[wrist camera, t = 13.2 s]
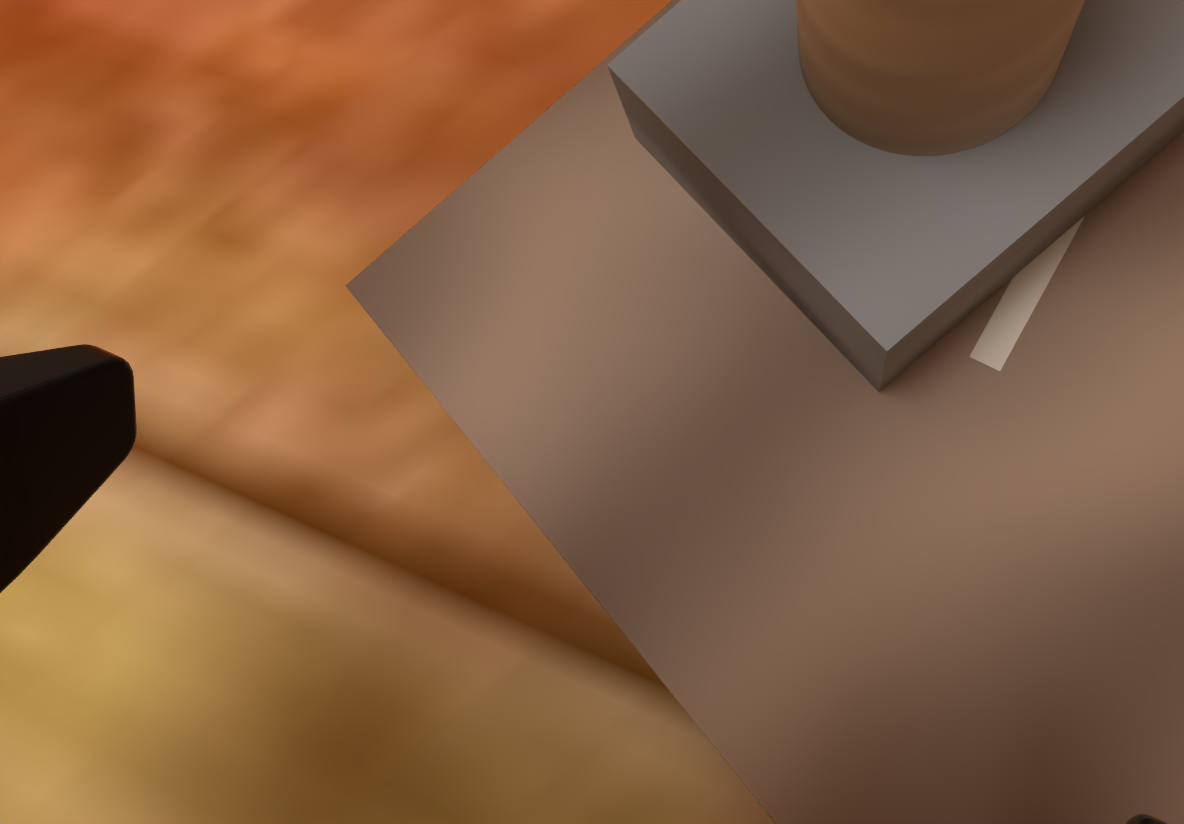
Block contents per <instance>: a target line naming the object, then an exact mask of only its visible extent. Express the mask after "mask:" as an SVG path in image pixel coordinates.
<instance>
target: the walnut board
mask: <svg viewBox="0 0 1184 824" xmlns="http://www.w3.org/2000/svg"><path fill="white" fill-rule="evenodd" d="M680 1H681V0H672V1H671V2H670V3H669V4H668V5H666V6H665V7H664V8H663V9H662V10H661V11H659V12H658V13H657V14H656V15H655V16H654V17H653V18H651V19H650V20H649V21H648V22H647V23H646V24H645V25H643V26H642V27H641V28H640V29H639V30H638V31H637V32H635V33H634V34H633V35H632V36H631V37H630V38H629V39H627V40H626V41H625V42H624V43H623V44H622V45H621V46H619V47H618V48H617V49H616V50H615V51H614V52H613V53H611V54H610V55H609V56H608V57H607V58H606V59H605V60H603V61H602V62H601V63H600V64H599V65H598V66H597V67H595V68H594V69H593V70H592V71H591V72H590V73H589V74H587V75H586V76H585V77H584V78H583V79H582V80H581V81H579V82H578V83H577V84H576V85H575V86H574V87H572V88H571V89H570V90H569V91H568V92H567V93H566V94H564V95H563V96H562V97H561V98H560V99H559V100H558V101H556V102H555V103H554V104H553V105H552V106H551V107H550V108H548V109H547V110H546V111H545V112H544V113H543V114H542V115H540V116H539V117H538V118H537V119H536V120H535V121H534V122H532V123H531V124H530V125H529V126H528V127H527V128H526V129H524V130H523V131H522V132H521V133H520V134H519V135H518V136H516V137H515V138H514V139H513V140H512V141H511V142H510V143H508V144H507V145H506V146H505V147H504V148H503V149H502V150H500V151H499V152H498V153H497V154H496V155H495V156H494V157H492V158H491V159H490V160H489V161H488V162H487V163H485V164H484V165H483V166H482V167H481V168H480V169H479V170H477V171H476V172H475V173H474V174H473V175H472V176H471V177H469V178H468V179H467V180H466V181H465V182H464V183H463V184H461V185H460V186H459V187H458V188H457V189H456V190H455V191H453V192H452V193H451V194H450V195H449V196H448V197H447V198H445V199H444V200H443V201H442V202H441V203H440V204H439V205H437V206H436V207H435V208H434V209H433V210H432V211H431V212H429V213H428V214H427V215H426V216H425V217H424V218H423V219H421V220H420V221H419V222H418V223H417V224H416V225H415V226H413V227H412V228H411V229H410V230H409V231H408V232H407V233H405V234H404V235H403V236H402V237H401V238H400V239H398V240H397V241H396V242H395V243H394V244H393V245H392V246H390V247H389V248H388V249H387V250H386V251H385V252H384V253H382V254H381V255H380V256H379V257H378V258H377V259H376V260H374V261H373V262H372V263H371V264H370V265H369V266H368V267H366V268H365V269H364V270H363V271H362V272H361V273H360V274H358V275H357V276H356V277H355V278H354V279H353V280H352V281H350V282H349V283H348V284H347V285H346V287H347V288H348V289H349V291H350V292H351V293H352V294H353V296H354V297H355V298H356V299H357V301H358V302H359V303H360V304H361V306H362V307H363V308H364V309H365V311H366V312H367V313H368V314H369V316H370V317H371V318H372V319H373V321H374V322H375V323H376V324H377V326H378V327H379V328H380V329H381V331H382V332H383V333H384V334H385V336H386V337H387V338H388V339H389V341H390V342H391V343H392V344H393V346H394V347H395V348H396V349H397V351H398V352H399V353H400V354H401V356H402V357H403V358H404V359H405V361H406V362H407V363H408V364H409V366H410V367H411V368H412V369H413V371H414V372H415V373H416V374H417V376H418V377H419V378H420V379H421V381H422V382H423V383H424V384H425V386H426V387H427V388H428V389H429V391H430V392H431V393H432V394H433V396H434V397H435V398H436V399H437V401H438V402H439V403H440V404H441V406H442V407H443V408H444V409H445V411H446V412H447V413H448V414H449V416H450V417H451V418H452V419H453V421H454V422H455V423H456V424H457V426H458V427H459V428H460V429H461V431H462V432H463V433H464V434H465V436H466V437H467V438H468V439H469V441H470V442H471V443H472V444H473V446H474V447H475V448H476V449H477V451H478V452H479V453H480V454H481V456H482V457H483V458H484V459H485V461H486V462H487V463H488V464H489V466H490V467H491V468H492V469H493V471H494V472H495V473H496V474H497V476H498V477H499V478H500V479H501V481H502V482H503V483H504V484H505V486H506V487H507V488H508V489H509V491H510V492H511V493H512V494H513V496H514V497H515V498H516V499H517V501H518V502H519V503H520V504H521V506H522V507H523V508H524V509H525V511H526V512H527V513H528V514H529V516H530V517H531V518H532V519H533V521H534V522H535V523H536V524H537V526H538V527H539V528H540V529H541V531H542V532H543V533H544V534H545V536H546V537H547V538H548V539H549V541H550V542H551V543H552V545H553V546H554V547H555V548H556V550H557V551H558V552H559V553H560V555H561V556H562V557H563V558H564V560H565V561H566V562H567V563H568V565H569V566H570V567H571V568H572V570H573V571H574V572H575V573H576V575H577V576H578V577H579V578H580V580H581V581H582V582H583V583H584V585H585V586H586V587H587V588H588V590H589V591H590V592H591V593H592V595H593V596H594V597H595V598H596V600H597V601H598V602H599V603H600V605H601V606H602V607H603V608H604V610H605V611H606V612H607V613H608V615H609V616H610V617H611V618H612V620H613V621H614V622H615V623H616V625H617V626H618V627H619V628H620V630H621V631H622V632H623V633H624V635H625V636H626V637H627V638H628V640H629V641H630V642H631V643H632V645H633V646H634V647H635V648H636V650H637V651H638V652H639V653H640V655H641V656H642V657H643V658H644V660H645V661H646V662H647V663H648V665H649V666H650V667H651V668H652V670H653V671H654V672H655V673H656V675H657V676H658V677H659V678H660V680H661V681H662V682H663V683H664V685H665V686H666V687H667V688H668V690H669V691H670V692H671V693H672V695H673V696H674V697H675V698H676V700H677V701H678V702H679V703H680V705H681V706H682V707H683V708H684V710H685V711H686V712H687V713H688V715H689V716H690V717H691V718H692V720H693V721H694V722H695V723H696V725H697V726H698V727H699V728H700V730H701V731H702V732H703V733H704V735H705V736H706V737H707V738H708V740H709V741H710V742H711V743H712V745H713V746H714V747H715V748H716V750H717V751H718V752H719V753H720V755H721V756H722V757H723V758H724V760H725V761H726V762H727V763H728V765H729V766H730V767H731V768H732V770H733V771H734V772H735V773H736V775H737V776H738V777H739V778H740V780H741V781H742V782H743V783H744V785H745V786H746V787H747V788H748V790H749V791H750V792H751V793H752V795H753V796H754V797H755V798H756V800H757V801H758V802H759V803H760V805H761V806H762V807H763V808H764V810H765V811H766V812H767V813H768V815H769V816H770V817H771V818H772V820H773V821H774V822H775V823H776V824H1126V822H1127V821H1128V820H1129V819H1131V818H1132V817H1134V816H1135V815H1138V814H1146V815H1150V816H1152V817H1155V818H1157V819H1159V820H1161V821H1163V822H1166V823H1168V824H1184V131H1183V132H1182V133H1181V134H1180V135H1178V136H1177V137H1176V138H1175V139H1174V140H1173V141H1171V142H1170V143H1169V144H1168V145H1167V146H1166V147H1164V148H1163V149H1162V150H1161V151H1160V152H1159V153H1157V154H1156V155H1155V156H1154V157H1153V158H1152V159H1150V160H1149V161H1148V162H1147V163H1146V164H1145V165H1143V166H1142V167H1141V168H1140V169H1139V170H1138V171H1136V172H1135V173H1134V174H1133V175H1132V176H1131V177H1129V178H1128V179H1127V180H1126V181H1125V182H1124V183H1122V184H1121V185H1120V186H1119V187H1118V188H1117V189H1115V190H1114V191H1113V192H1112V193H1111V194H1110V195H1108V196H1107V197H1106V198H1105V199H1104V200H1103V201H1101V202H1100V203H1099V204H1098V205H1097V206H1096V207H1094V208H1093V209H1092V210H1091V211H1090V212H1089V213H1087V214H1086V215H1085V216H1084V217H1083V218H1082V219H1080V220H1079V221H1078V222H1077V223H1076V224H1075V225H1073V226H1072V227H1071V228H1070V229H1069V230H1068V231H1066V232H1065V233H1064V234H1063V235H1062V236H1061V237H1059V238H1058V239H1057V240H1056V241H1055V242H1054V243H1052V244H1051V245H1050V246H1049V247H1048V248H1047V249H1045V250H1044V251H1043V252H1042V253H1041V254H1040V255H1038V256H1037V257H1036V258H1035V259H1034V260H1033V261H1031V262H1030V263H1029V264H1028V265H1027V266H1026V267H1024V268H1023V269H1022V270H1021V271H1020V272H1019V273H1017V274H1016V275H1015V276H1014V277H1013V278H1012V279H1010V280H1009V281H1008V282H1007V283H1006V284H1005V285H1003V286H1002V287H1001V288H1000V289H999V290H998V291H996V292H995V293H994V294H993V295H992V296H991V297H989V298H988V299H987V300H986V301H985V302H984V303H982V304H981V305H980V306H979V307H978V308H977V309H975V310H974V311H973V312H972V313H971V314H970V315H968V316H967V317H966V318H965V319H964V320H963V321H961V322H960V323H959V324H958V325H957V326H956V327H954V328H953V329H952V330H951V331H950V332H949V333H947V334H946V335H945V336H944V337H943V338H942V339H940V340H939V341H938V342H937V343H936V344H935V345H933V346H932V347H931V348H930V349H929V350H928V351H926V352H925V353H924V354H923V355H922V356H921V357H919V358H918V359H917V360H916V361H915V362H914V363H912V364H911V365H910V366H909V367H908V368H907V369H905V370H904V371H903V372H902V373H901V374H900V375H898V376H897V377H896V378H895V379H894V380H893V381H891V382H890V383H889V384H888V385H887V386H886V387H884V388H883V389H882V390H881V391H880V392H878V391H877V390H876V389H875V388H874V387H873V386H872V385H871V383H870V382H869V381H868V380H867V379H866V378H865V377H864V376H863V375H862V374H861V373H860V372H859V371H858V370H857V369H856V368H855V367H854V366H853V365H852V364H851V363H850V362H849V361H848V359H847V358H846V357H845V356H844V355H843V354H842V353H841V352H840V351H839V350H838V349H837V348H836V347H835V346H834V345H833V344H832V343H831V342H830V341H829V340H828V339H827V338H826V337H825V336H824V334H823V333H822V332H821V331H820V330H819V329H818V328H817V327H816V326H815V325H814V324H813V323H812V322H811V321H810V320H809V319H808V318H807V317H806V316H805V315H804V314H803V313H802V312H801V311H800V309H799V308H798V307H797V306H796V305H795V304H794V303H793V302H792V301H791V300H790V299H789V298H788V297H787V296H786V295H785V294H784V293H783V292H782V291H781V290H780V289H779V288H778V287H777V285H776V284H775V283H774V282H773V281H772V280H771V279H770V278H769V277H768V276H767V275H766V274H765V273H764V272H763V271H762V270H761V269H760V268H759V267H758V266H757V265H756V264H755V263H754V262H753V260H752V259H751V258H750V257H749V256H748V255H747V254H746V253H745V252H744V251H743V250H742V249H741V248H740V247H739V246H738V245H737V244H736V243H735V242H734V241H733V240H732V239H731V238H730V236H729V235H728V234H727V233H726V232H725V231H724V230H723V229H722V228H721V227H720V226H719V225H718V224H717V223H716V222H715V221H714V220H713V219H712V218H711V217H710V216H709V215H708V214H707V213H706V211H705V210H704V209H703V208H702V207H701V206H700V205H699V204H698V203H697V202H696V201H695V200H694V199H693V198H692V197H691V196H690V195H689V194H688V193H687V192H686V191H685V190H684V189H683V187H682V186H681V185H680V184H679V183H678V182H677V181H676V180H675V179H674V178H673V177H672V176H671V175H670V174H669V173H668V172H667V171H666V170H665V169H664V168H663V167H662V166H661V165H660V164H659V162H658V161H657V160H656V159H655V158H654V157H653V156H652V155H651V154H650V153H649V152H648V151H647V150H646V149H645V148H644V147H643V146H642V145H641V144H640V143H639V142H638V141H637V140H636V139H635V136H634V134H633V131H632V129H631V126H630V123H629V121H628V118H627V116H626V113H625V110H624V108H623V105H622V103H621V100H620V97H619V95H618V92H617V89H616V87H615V84H614V82H613V79H612V76H611V74H610V71H609V69H608V66H607V64H609V63H610V62H611V61H612V60H613V59H614V58H615V57H617V56H618V55H619V54H620V53H621V52H622V51H624V50H625V49H626V48H627V47H628V46H629V45H630V44H632V43H633V42H634V41H635V40H636V39H637V38H638V37H640V36H641V35H642V34H643V33H644V32H645V31H646V30H648V29H649V28H650V27H651V26H652V25H653V24H654V23H656V22H657V21H658V20H659V19H660V18H661V17H662V16H664V15H665V14H666V13H667V12H668V11H669V10H670V9H672V8H673V7H674V6H675V5H676V4H677V3H678V2H680Z"/></svg>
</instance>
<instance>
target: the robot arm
mask: <svg viewBox="0 0 1184 824" xmlns="http://www.w3.org/2000/svg"><path fill="white" fill-rule="evenodd" d="M136 430H137V428H136V411H135V393H134V376H133V371H132V369H131V367H130V365H129V363H128V362H127V361H125V360H124V359H123V358H121V357H119V356H117V355H114V354H112V353H110V352H108V351H105V350H103V349H101V348H99V347H96V346H92V345H86V344H84V345H76V346H69V347H63V348H56V349H50V350H44V351H37V352H31V353H24V354H18V355H11V356H5V357H0V593H1V592H2V591H3V590H4V589H5V588H6V587H7V586H8V585H9V584H10V583H11V582H12V581H13V580H15V579H16V578H17V577H18V576H19V575H20V574H21V573H22V571H23V570H24V569H25V568H26V567H27V566H28V565H29V564H30V563H31V562H32V561H33V560H34V559H35V558H36V557H37V556H38V555H39V554H40V553H41V551H42V550H43V549H44V548H45V547H46V546H47V545H48V544H49V543H50V541H51V540H52V539H53V538H54V537H55V536H56V535H57V534H58V533H59V532H60V530H61V529H62V528H63V527H64V526H65V525H66V524H67V523H68V522H69V521H70V519H71V518H72V517H73V516H74V515H75V514H76V513H77V512H78V511H79V509H80V508H81V507H82V506H83V505H84V504H85V503H86V502H87V501H88V500H89V498H90V497H91V496H92V495H93V494H94V493H95V492H96V491H97V490H98V488H99V487H100V486H101V485H102V484H103V483H104V482H105V481H106V480H107V479H108V477H109V476H110V475H111V474H112V473H113V472H114V471H115V470H116V469H117V467H118V466H119V465H120V464H121V463H122V462H123V461H124V460H125V458H126V457H127V456H128V454H129V452H130V451H131V449H132V447H133V444H134V442H135V438H136ZM1126 824H1168V823H1166V822H1163V821H1161V820H1159V819H1157V818H1155V817H1152V816H1150V815H1146V814H1138V815H1135V816H1134V817H1132V818H1131V819H1129V820H1128V821H1127V822H1126Z"/></svg>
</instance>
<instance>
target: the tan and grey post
mask: <svg viewBox="0 0 1184 824" xmlns="http://www.w3.org/2000/svg"><path fill="white" fill-rule="evenodd" d="M607 66H608V69H609V71H610V74H611V76H612V79H613V82H614V84H615V87H616V89H617V92H618V95H619V97H620V100H621V103H622V105H623V108H624V110H625V113H626V116H627V118H628V121H629V123H630V126H631V129H632V131H633V134H634V136H635V139H636V140H637V141H638V142H639V143H640V144H641V145H642V146H643V147H644V148H645V149H646V150H647V151H648V152H649V153H650V154H651V155H652V156H653V157H654V158H655V159H656V160H657V161H658V162H659V164H660V165H661V166H662V167H663V168H664V169H665V170H666V171H667V172H668V173H669V174H670V175H671V176H672V177H673V178H674V179H675V180H676V181H677V182H678V183H679V184H680V185H681V186H682V187H683V189H684V190H685V191H686V192H687V193H688V194H689V195H690V196H691V197H692V198H693V199H694V200H695V201H696V202H697V203H698V204H699V205H700V206H701V207H702V208H703V209H704V210H705V211H706V213H707V214H708V215H709V216H710V217H711V218H712V219H713V220H714V221H715V222H716V223H717V224H718V225H719V226H720V227H721V228H722V229H723V230H724V231H725V232H726V233H727V234H728V235H729V236H730V238H731V239H732V240H733V241H734V242H735V243H736V244H737V245H738V246H739V247H740V248H741V249H742V250H743V251H744V252H745V253H746V254H747V255H748V256H749V257H750V258H751V259H752V260H753V262H754V263H755V264H756V265H757V266H758V267H759V268H760V269H761V270H762V271H763V272H764V273H765V274H766V275H767V276H768V277H769V278H770V279H771V280H772V281H773V282H774V283H775V284H776V285H777V287H778V288H779V289H780V290H781V291H782V292H783V293H784V294H785V295H786V296H787V297H788V298H789V299H790V300H791V301H792V302H793V303H794V304H795V305H796V306H797V307H798V308H799V309H800V311H801V312H802V313H803V314H804V315H805V316H806V317H807V318H808V319H809V320H810V321H811V322H812V323H813V324H814V325H815V326H816V327H817V328H818V329H819V330H820V331H821V332H822V333H823V334H824V336H825V337H826V338H827V339H828V340H829V341H830V342H831V343H832V344H833V345H834V346H835V347H836V348H837V349H838V350H839V351H840V352H841V353H842V354H843V355H844V356H845V357H846V358H847V359H848V361H849V362H850V363H851V364H852V365H853V366H854V367H855V368H856V369H857V370H858V371H859V372H860V373H861V374H862V375H863V376H864V377H865V378H866V379H867V380H868V381H869V382H870V383H871V385H872V386H873V387H874V388H875V389H876V390H877V391H878V392H880V391H881V390H882V389H883V388H884V387H886V386H887V385H888V384H889V383H890V382H891V381H893V380H894V379H895V378H896V377H897V376H898V375H900V374H901V373H902V372H903V371H904V370H905V369H907V368H908V367H909V366H910V365H911V364H912V363H914V362H915V361H916V360H917V359H918V358H919V357H921V356H922V355H923V354H924V353H925V352H926V351H928V350H929V349H930V348H931V347H932V346H933V345H935V344H936V343H937V342H938V341H939V340H940V339H942V338H943V337H944V336H945V335H946V334H947V333H949V332H950V331H951V330H952V329H953V328H954V327H956V326H957V325H958V324H959V323H960V322H961V321H963V320H964V319H965V318H966V317H967V316H968V315H970V314H971V313H972V312H973V311H974V310H975V309H977V308H978V307H979V306H980V305H981V304H982V303H984V302H985V301H986V300H987V299H988V298H989V297H991V296H992V295H993V294H994V293H995V292H996V291H998V290H999V289H1000V288H1001V287H1002V286H1003V285H1005V284H1006V283H1007V282H1008V281H1009V280H1010V279H1012V278H1013V277H1014V276H1015V275H1016V274H1017V273H1019V272H1020V271H1021V270H1022V269H1023V268H1024V267H1026V266H1027V265H1028V264H1029V263H1030V262H1031V261H1033V260H1034V259H1035V258H1036V257H1037V256H1038V255H1040V254H1041V253H1042V252H1043V251H1044V250H1045V249H1047V248H1048V247H1049V246H1050V245H1051V244H1052V243H1054V242H1055V241H1056V240H1057V239H1058V238H1059V237H1061V236H1062V235H1063V234H1064V233H1065V232H1066V231H1068V230H1069V229H1070V228H1071V227H1072V226H1073V225H1075V224H1076V223H1077V222H1078V221H1079V220H1080V219H1082V218H1083V217H1084V216H1085V215H1086V214H1087V213H1089V212H1090V211H1091V210H1092V209H1093V208H1094V207H1096V206H1097V205H1098V204H1099V203H1100V202H1101V201H1103V200H1104V199H1105V198H1106V197H1107V196H1108V195H1110V194H1111V193H1112V192H1113V191H1114V190H1115V189H1117V188H1118V187H1119V186H1120V185H1121V184H1122V183H1124V182H1125V181H1126V180H1127V179H1128V178H1129V177H1131V176H1132V175H1133V174H1134V173H1135V172H1136V171H1138V170H1139V169H1140V168H1141V167H1142V166H1143V165H1145V164H1146V163H1147V162H1148V161H1149V160H1150V159H1152V158H1153V157H1154V156H1155V155H1156V154H1157V153H1159V152H1160V151H1161V150H1162V149H1163V148H1164V147H1166V146H1167V145H1168V144H1169V143H1170V142H1171V141H1173V140H1174V139H1175V138H1176V137H1177V136H1178V135H1180V134H1181V133H1182V132H1183V131H1184V0H681V1H680V2H678V3H677V4H676V5H675V6H674V7H673V8H672V9H670V10H669V11H668V12H667V13H666V14H665V15H664V16H662V17H661V18H660V19H659V20H658V21H657V22H656V23H654V24H653V25H652V26H651V27H650V28H649V29H648V30H646V31H645V32H644V33H643V34H642V35H641V36H640V37H638V38H637V39H636V40H635V41H634V42H633V43H632V44H630V45H629V46H628V47H627V48H626V49H625V50H624V51H622V52H621V53H620V54H619V55H618V56H617V57H615V58H614V59H613V60H612V61H611V62H610V63H609V64H607Z"/></svg>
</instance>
